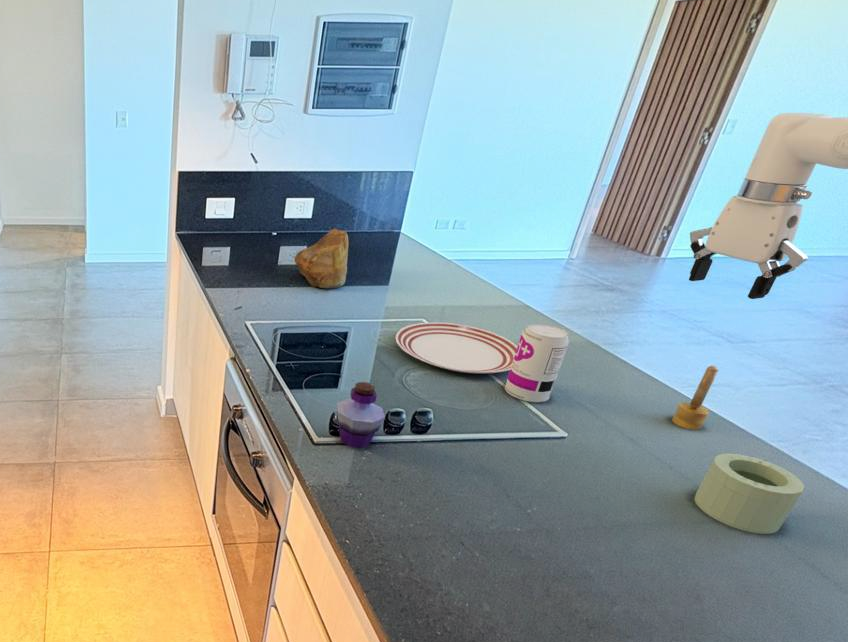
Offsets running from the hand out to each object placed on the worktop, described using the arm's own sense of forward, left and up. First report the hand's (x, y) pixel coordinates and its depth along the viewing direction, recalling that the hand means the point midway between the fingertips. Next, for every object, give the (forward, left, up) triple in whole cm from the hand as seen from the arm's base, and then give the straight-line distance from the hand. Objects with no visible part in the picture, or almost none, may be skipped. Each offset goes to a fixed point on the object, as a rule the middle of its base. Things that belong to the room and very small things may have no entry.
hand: (724, 288), depth 111 cm
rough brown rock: (+72, -64, -27) cm, 100 cm away
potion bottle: (+59, +31, -27) cm, 72 cm away
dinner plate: (+37, -16, -27) cm, 48 cm away
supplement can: (+25, 0, -27) cm, 37 cm away
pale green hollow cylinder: (+2, +32, -27) cm, 42 cm away
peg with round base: (-2, +3, -27) cm, 27 cm away
